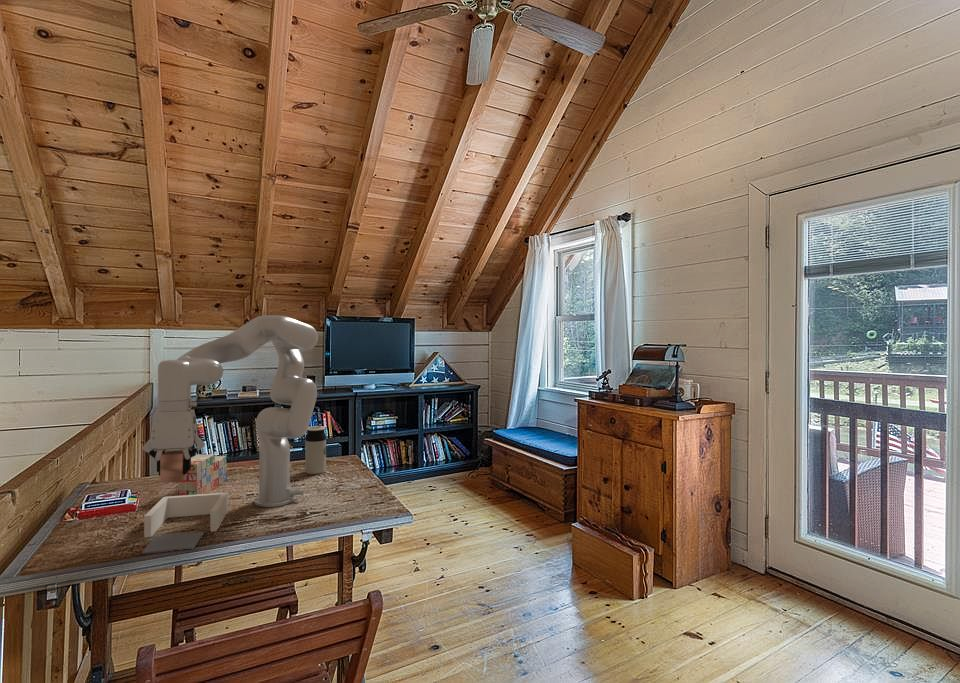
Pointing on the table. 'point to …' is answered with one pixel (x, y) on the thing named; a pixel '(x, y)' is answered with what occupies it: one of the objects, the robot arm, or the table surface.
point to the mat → (173, 542)
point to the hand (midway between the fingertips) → (174, 473)
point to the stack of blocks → (203, 474)
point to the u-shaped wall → (187, 510)
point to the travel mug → (315, 450)
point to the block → (172, 466)
